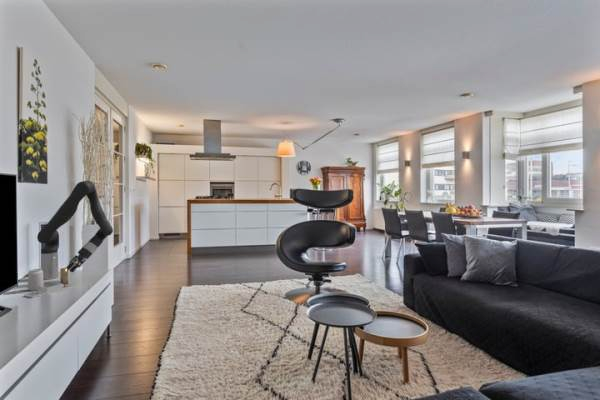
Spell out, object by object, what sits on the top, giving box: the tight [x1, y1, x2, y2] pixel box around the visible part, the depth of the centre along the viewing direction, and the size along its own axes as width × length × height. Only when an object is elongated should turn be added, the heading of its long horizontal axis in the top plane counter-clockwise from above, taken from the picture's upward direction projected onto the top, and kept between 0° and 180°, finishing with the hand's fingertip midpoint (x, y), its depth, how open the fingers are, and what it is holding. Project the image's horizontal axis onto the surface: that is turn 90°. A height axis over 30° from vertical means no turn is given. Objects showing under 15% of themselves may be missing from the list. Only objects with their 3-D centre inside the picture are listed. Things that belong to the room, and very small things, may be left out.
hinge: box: [24, 281, 76, 299], centre depth 208 cm, size 9×23×4 cm, turn 154°
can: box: [27, 268, 45, 292], centre depth 213 cm, size 8×8×12 cm
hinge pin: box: [59, 267, 69, 285], centre depth 224 cm, size 4×4×10 cm
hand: (68, 270), depth 225 cm, fingers open, 8 cm apart
